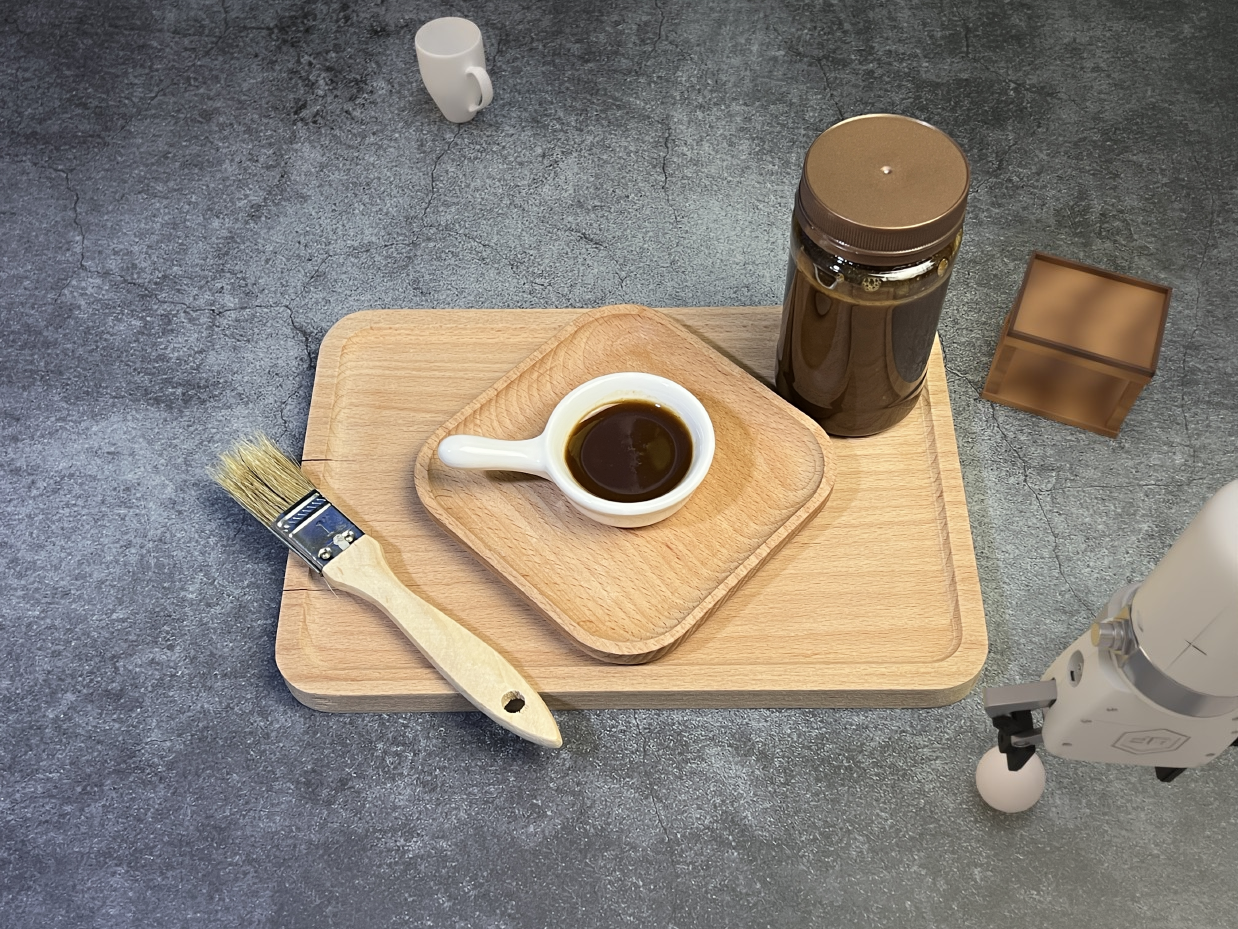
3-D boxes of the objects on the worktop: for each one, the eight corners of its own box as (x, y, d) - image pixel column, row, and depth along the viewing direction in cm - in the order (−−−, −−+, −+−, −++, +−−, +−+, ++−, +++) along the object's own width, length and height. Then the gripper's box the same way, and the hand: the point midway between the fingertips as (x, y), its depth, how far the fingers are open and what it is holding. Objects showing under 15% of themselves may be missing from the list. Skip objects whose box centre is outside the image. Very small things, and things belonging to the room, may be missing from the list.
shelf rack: (1133, 356, 120) (1173, 287, 111) (1115, 439, 114) (1155, 373, 105) (1005, 319, 123) (1033, 249, 114) (980, 398, 117) (1008, 330, 108)
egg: (1013, 754, 95) (1038, 722, 89) (1041, 813, 92) (1070, 785, 86) (956, 769, 94) (978, 739, 88) (983, 830, 92) (1008, 802, 85)
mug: (416, 110, 145) (400, 33, 136) (467, 84, 148) (456, 7, 139) (469, 156, 140) (456, 80, 131) (521, 128, 143) (512, 51, 134)
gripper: (1035, 699, 58) (957, 801, 72) (1378, 723, 57) (1230, 821, 71) (1018, 573, 62) (947, 692, 76) (1336, 593, 61) (1205, 710, 75)
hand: (1084, 754), depth 73 cm, fingers open, 9 cm apart
